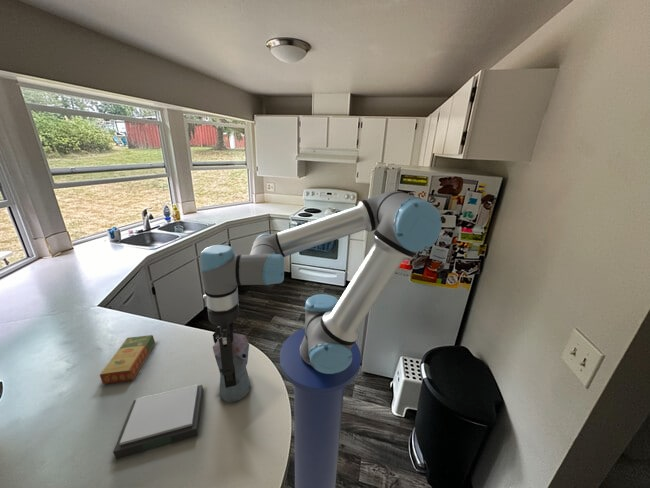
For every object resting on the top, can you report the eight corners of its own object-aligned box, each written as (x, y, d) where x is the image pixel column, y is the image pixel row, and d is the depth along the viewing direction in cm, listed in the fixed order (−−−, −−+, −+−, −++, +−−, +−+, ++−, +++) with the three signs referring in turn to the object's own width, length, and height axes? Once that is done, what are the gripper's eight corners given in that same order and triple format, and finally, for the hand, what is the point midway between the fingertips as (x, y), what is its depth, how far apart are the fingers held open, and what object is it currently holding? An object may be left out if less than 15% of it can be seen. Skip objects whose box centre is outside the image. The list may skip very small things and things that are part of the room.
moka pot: (238, 415, 67) (231, 358, 60) (203, 388, 75) (193, 334, 68) (264, 389, 75) (260, 335, 68) (229, 366, 82) (223, 316, 75)
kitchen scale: (203, 390, 74) (201, 382, 73) (197, 436, 62) (195, 427, 61) (135, 406, 69) (132, 398, 67) (115, 460, 57) (111, 450, 56)
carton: (102, 385, 74) (98, 374, 73) (129, 346, 89) (126, 336, 87) (133, 380, 76) (130, 370, 74) (155, 343, 91) (153, 333, 89)
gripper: (211, 284, 73) (219, 344, 81) (201, 337, 53) (214, 410, 61) (238, 281, 75) (243, 339, 83) (239, 330, 55) (246, 401, 63)
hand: (231, 369), depth 72 cm, fingers closed on moka pot, 10 cm apart
